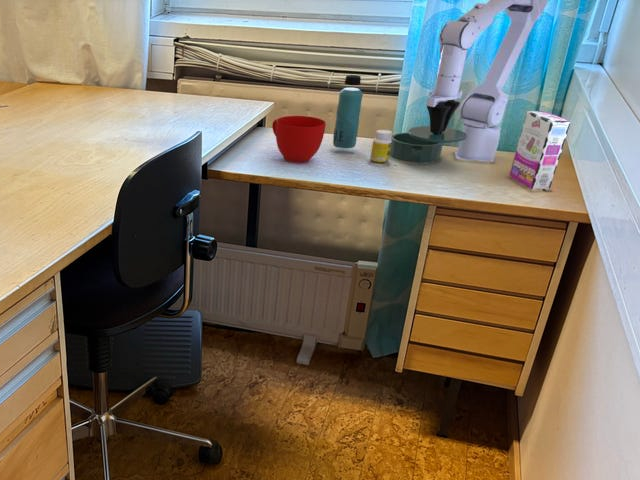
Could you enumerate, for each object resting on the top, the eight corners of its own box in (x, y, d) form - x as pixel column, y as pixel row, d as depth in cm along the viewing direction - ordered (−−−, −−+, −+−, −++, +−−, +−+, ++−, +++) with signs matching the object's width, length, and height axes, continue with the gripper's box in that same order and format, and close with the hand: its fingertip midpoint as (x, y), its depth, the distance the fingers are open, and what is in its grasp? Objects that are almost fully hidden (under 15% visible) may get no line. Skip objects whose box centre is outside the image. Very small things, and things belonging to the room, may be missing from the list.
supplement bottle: (388, 166, 185) (394, 134, 181) (369, 165, 186) (375, 133, 182) (387, 161, 189) (392, 129, 185) (369, 160, 190) (374, 128, 186)
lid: (463, 132, 184) (468, 112, 182) (468, 146, 173) (473, 125, 170) (407, 128, 188) (410, 108, 185) (408, 142, 176) (412, 121, 173)
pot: (437, 150, 199) (441, 132, 196) (440, 169, 184) (445, 150, 181) (388, 146, 202) (391, 128, 199) (387, 164, 187) (391, 145, 184)
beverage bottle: (358, 149, 199) (369, 74, 188) (350, 155, 194) (361, 78, 184) (336, 146, 202) (346, 72, 191) (327, 151, 197) (337, 76, 187)
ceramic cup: (288, 147, 201) (292, 110, 196) (331, 161, 189) (336, 123, 184) (253, 153, 195) (256, 116, 190) (295, 169, 183) (299, 129, 178)
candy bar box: (551, 191, 169) (572, 121, 160) (531, 191, 169) (551, 121, 160) (526, 176, 178) (545, 109, 170) (507, 177, 178) (525, 110, 169)
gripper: (447, 69, 179) (436, 124, 186) (419, 76, 170) (409, 133, 178) (474, 73, 175) (462, 128, 182) (447, 80, 166) (435, 139, 173)
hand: (437, 131), depth 180 cm, fingers closed on lid, 2 cm apart
